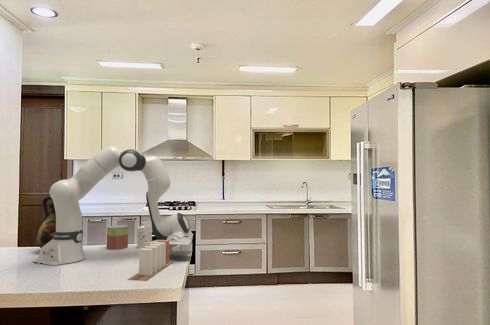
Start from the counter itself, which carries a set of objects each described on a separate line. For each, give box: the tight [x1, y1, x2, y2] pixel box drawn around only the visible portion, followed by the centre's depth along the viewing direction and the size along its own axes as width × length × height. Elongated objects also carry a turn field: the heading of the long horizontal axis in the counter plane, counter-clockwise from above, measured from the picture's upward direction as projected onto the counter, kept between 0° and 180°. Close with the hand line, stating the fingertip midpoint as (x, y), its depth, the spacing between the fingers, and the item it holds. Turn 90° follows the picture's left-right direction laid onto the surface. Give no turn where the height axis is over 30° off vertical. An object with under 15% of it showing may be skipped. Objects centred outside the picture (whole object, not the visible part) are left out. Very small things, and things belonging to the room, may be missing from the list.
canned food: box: [106, 224, 129, 251], centre depth 176 cm, size 11×11×12 cm
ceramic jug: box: [36, 195, 56, 249], centre depth 168 cm, size 17×15×30 cm
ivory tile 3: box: [149, 244, 162, 269], centre depth 131 cm, size 2×5×10 cm, turn 80°
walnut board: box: [127, 261, 175, 282], centre depth 129 cm, size 8×26×1 cm, turn 170°
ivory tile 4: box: [143, 246, 157, 272], centre depth 127 cm, size 2×5×10 cm, turn 80°
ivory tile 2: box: [153, 242, 166, 267], centre depth 135 cm, size 2×5×10 cm, turn 80°
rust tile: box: [157, 239, 170, 264], centre depth 139 cm, size 2×5×10 cm, turn 80°
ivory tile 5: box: [138, 248, 153, 275], centre depth 123 cm, size 2×5×10 cm, turn 80°
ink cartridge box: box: [136, 219, 153, 249], centre depth 178 cm, size 9×5×15 cm, turn 168°
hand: (162, 249), depth 138 cm, fingers open, 8 cm apart
